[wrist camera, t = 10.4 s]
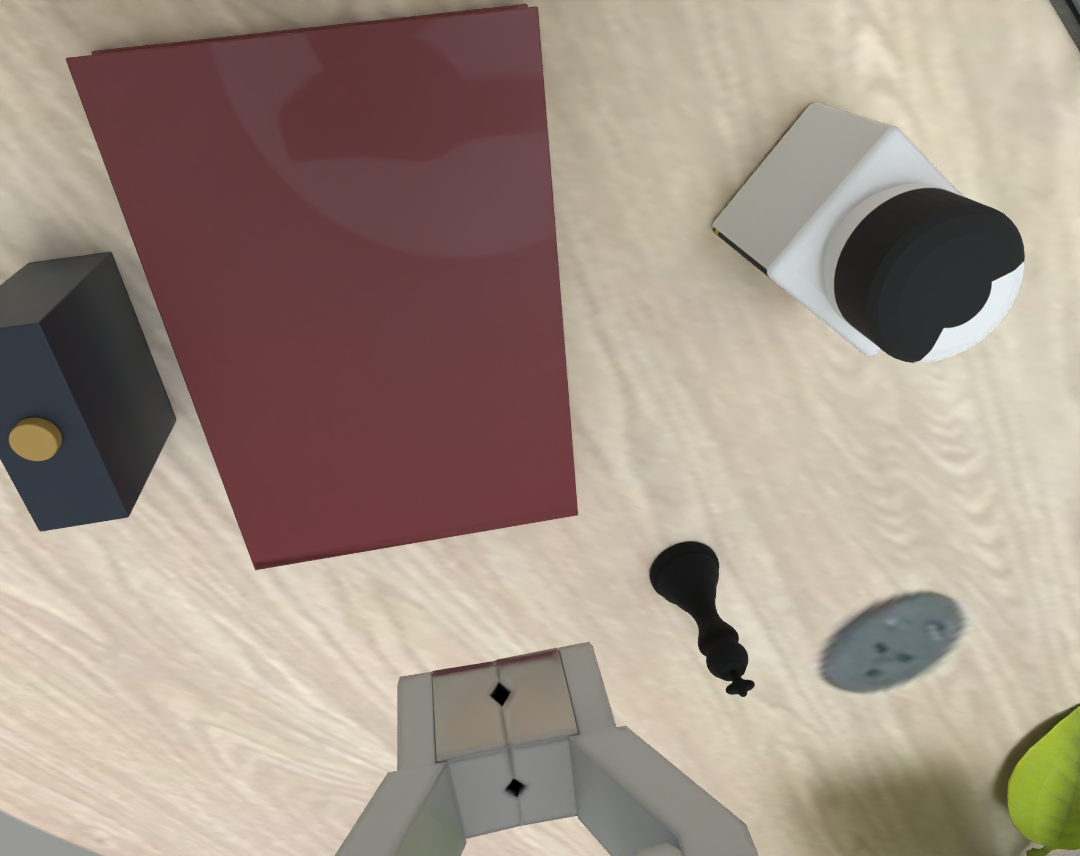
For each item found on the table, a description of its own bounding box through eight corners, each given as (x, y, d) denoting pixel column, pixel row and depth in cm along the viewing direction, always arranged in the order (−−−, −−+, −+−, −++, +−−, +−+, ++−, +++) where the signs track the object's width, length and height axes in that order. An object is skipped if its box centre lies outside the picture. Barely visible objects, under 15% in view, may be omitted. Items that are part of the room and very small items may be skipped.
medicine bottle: (706, 226, 37) (823, 321, 27) (811, 97, 35) (982, 149, 25) (801, 303, 40) (939, 415, 30) (903, 190, 38) (1090, 269, 28)
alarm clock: (69, 247, 35) (-137, 323, 28) (184, 259, 32) (-18, 346, 25) (137, 411, 39) (-28, 508, 33) (244, 436, 36) (85, 547, 30)
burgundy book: (93, 51, 30) (64, 58, 27) (526, 3, 31) (538, 6, 29) (263, 534, 42) (255, 570, 40) (567, 483, 44) (578, 515, 41)
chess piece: (719, 585, 50) (785, 712, 41) (653, 602, 50) (706, 732, 41) (715, 534, 47) (784, 656, 39) (645, 551, 47) (700, 678, 39)
